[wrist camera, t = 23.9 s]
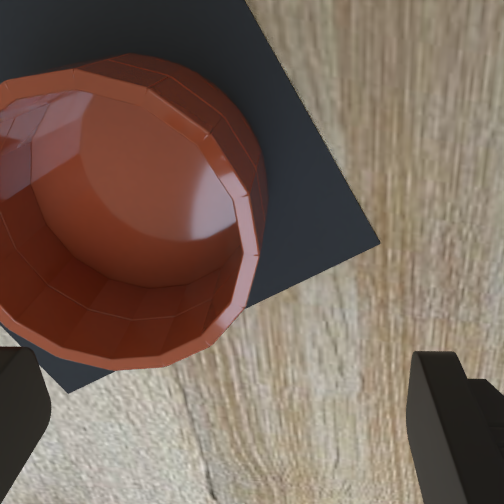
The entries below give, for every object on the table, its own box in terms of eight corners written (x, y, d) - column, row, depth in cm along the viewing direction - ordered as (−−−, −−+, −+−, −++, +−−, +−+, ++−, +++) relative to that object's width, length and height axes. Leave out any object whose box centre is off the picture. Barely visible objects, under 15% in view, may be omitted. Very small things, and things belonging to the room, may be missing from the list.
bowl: (171, -6, 18) (118, -11, 13) (312, 228, 22) (316, 299, 17) (-26, 142, 22) (-132, 187, 16) (126, 322, 25) (81, 406, 20)
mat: (106, -245, 15) (105, -247, 15) (380, 242, 22) (380, 243, 22) (-226, 94, 21) (-229, 94, 21) (68, 392, 28) (68, 393, 28)
